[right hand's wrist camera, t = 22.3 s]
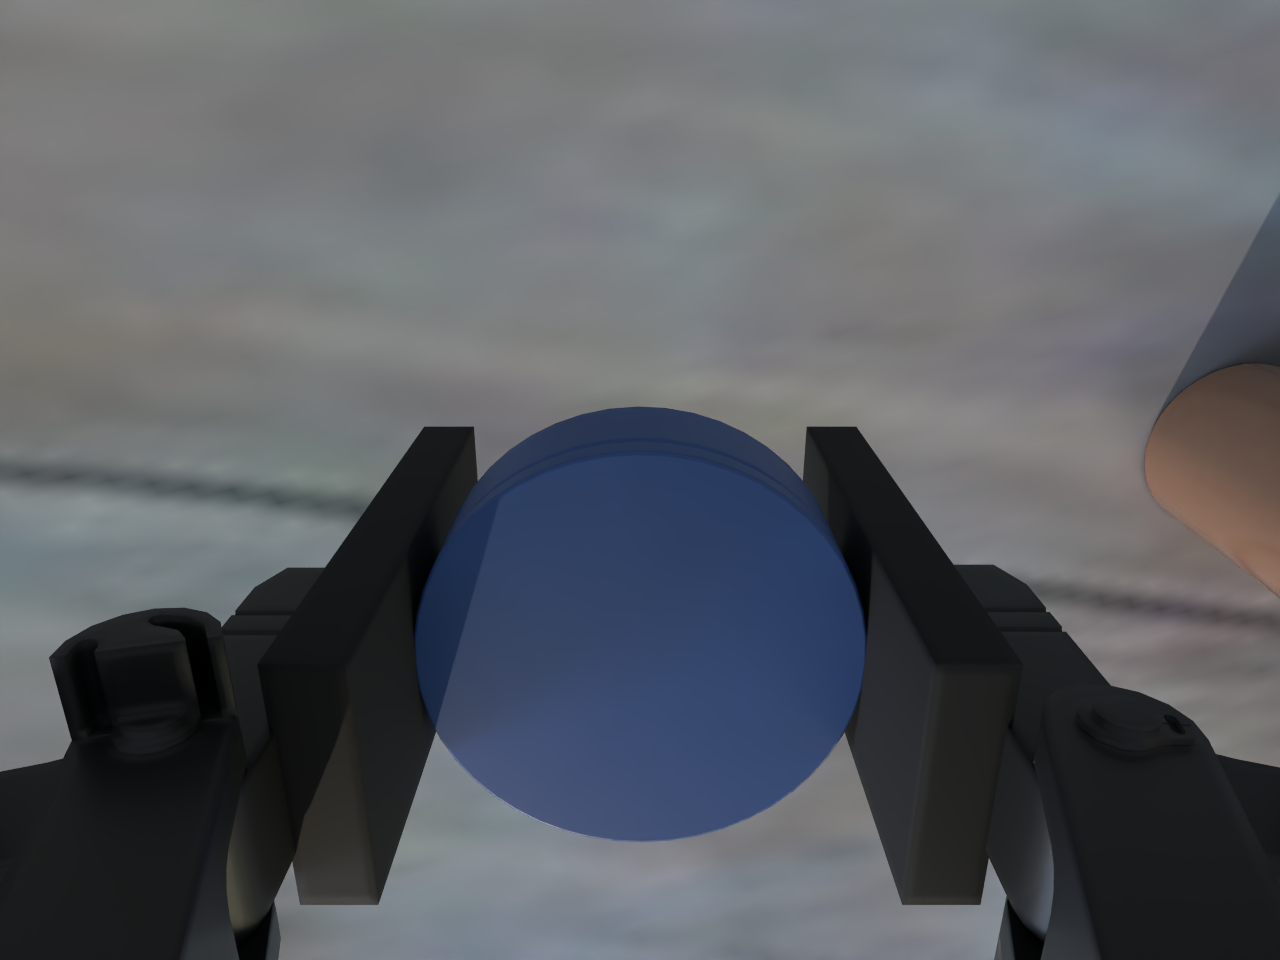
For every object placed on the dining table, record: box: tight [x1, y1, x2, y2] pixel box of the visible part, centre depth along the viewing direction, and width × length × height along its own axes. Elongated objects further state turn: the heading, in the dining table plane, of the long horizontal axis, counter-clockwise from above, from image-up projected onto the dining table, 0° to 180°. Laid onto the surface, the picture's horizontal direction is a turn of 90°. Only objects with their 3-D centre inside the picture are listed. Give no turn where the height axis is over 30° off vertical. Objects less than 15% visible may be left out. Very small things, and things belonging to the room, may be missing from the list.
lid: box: [414, 407, 867, 842], centre depth 11 cm, size 5×5×2 cm
